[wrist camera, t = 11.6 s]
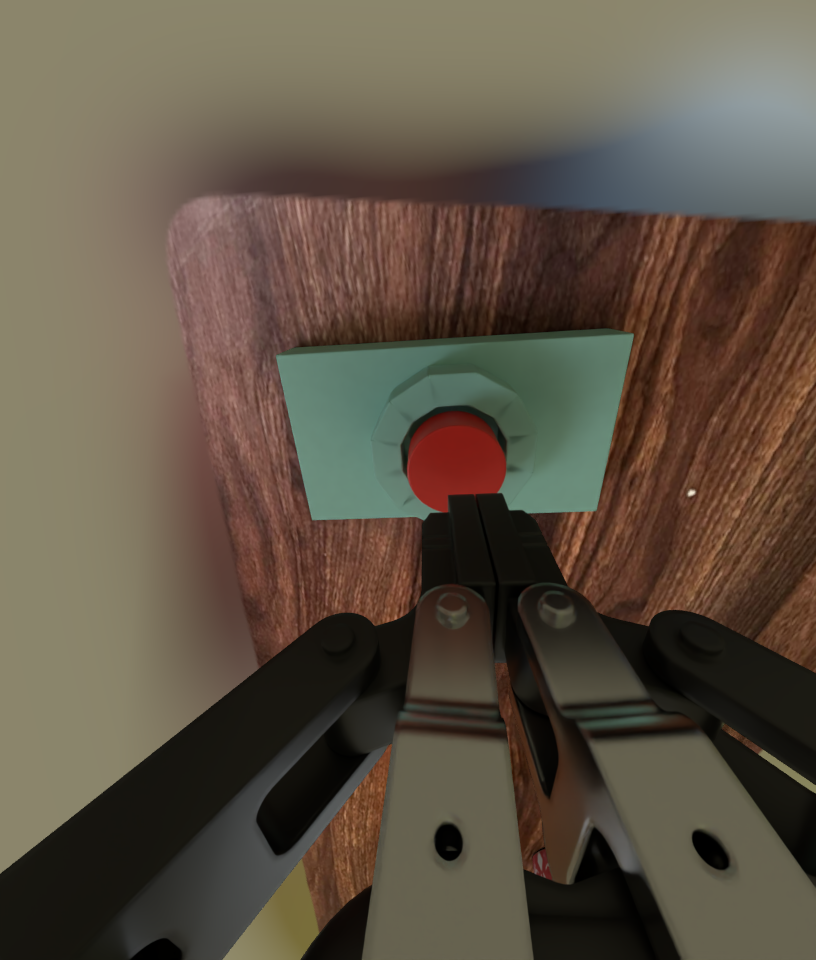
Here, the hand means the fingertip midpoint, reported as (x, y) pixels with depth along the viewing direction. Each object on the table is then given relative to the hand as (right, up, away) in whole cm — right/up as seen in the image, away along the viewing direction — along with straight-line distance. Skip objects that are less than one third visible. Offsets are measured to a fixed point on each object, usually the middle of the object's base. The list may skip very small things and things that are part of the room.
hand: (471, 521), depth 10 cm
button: (0, +2, +4) cm, 5 cm away
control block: (0, +4, +8) cm, 9 cm away
